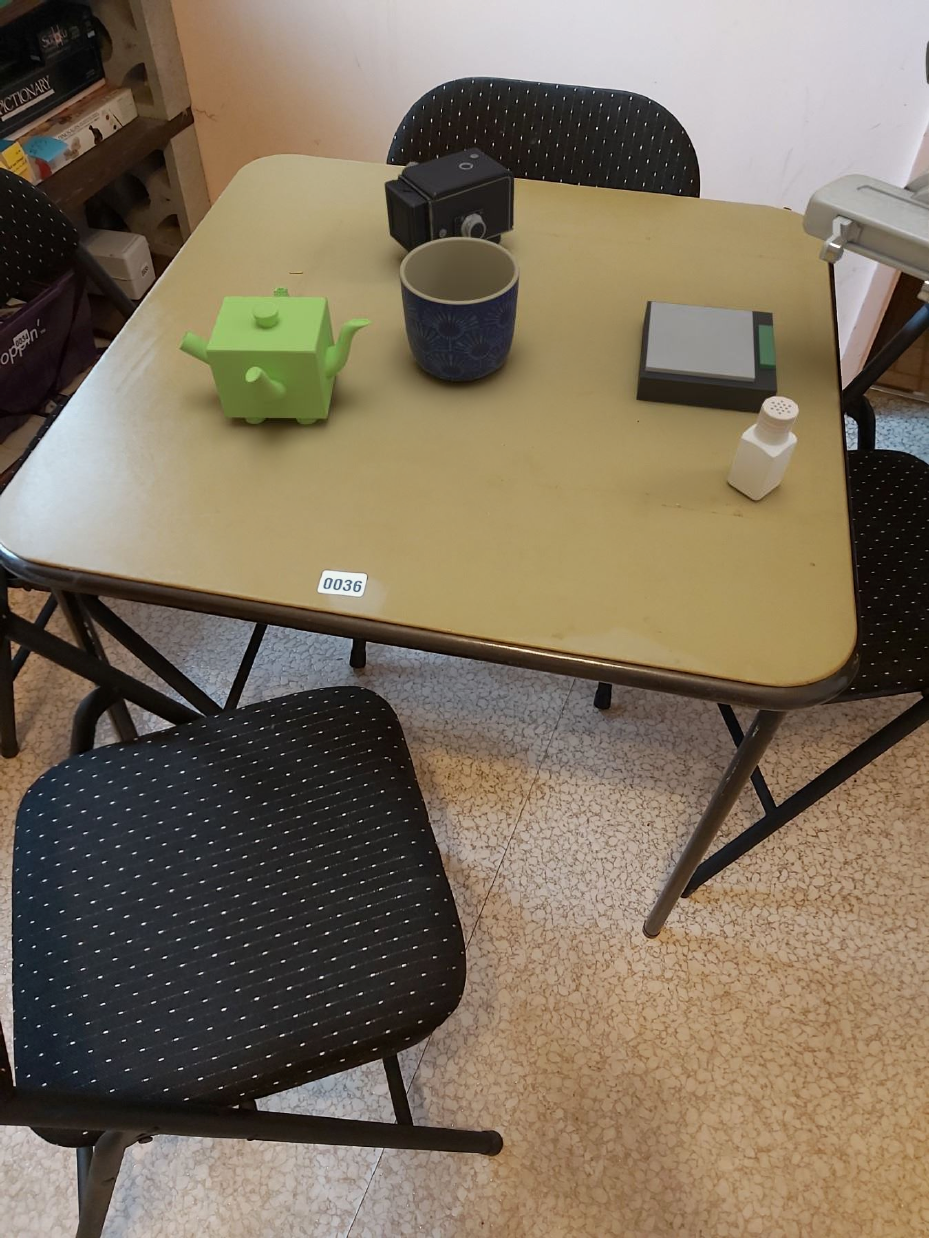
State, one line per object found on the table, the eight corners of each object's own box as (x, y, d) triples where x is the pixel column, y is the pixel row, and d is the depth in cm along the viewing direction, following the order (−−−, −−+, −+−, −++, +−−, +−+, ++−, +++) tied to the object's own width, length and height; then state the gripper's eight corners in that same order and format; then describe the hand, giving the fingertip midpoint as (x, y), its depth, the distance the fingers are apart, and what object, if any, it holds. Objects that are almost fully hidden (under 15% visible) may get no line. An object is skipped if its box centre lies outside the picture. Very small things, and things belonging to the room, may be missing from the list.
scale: (765, 335, 97) (774, 307, 94) (769, 414, 89) (779, 386, 86) (643, 323, 98) (648, 296, 95) (636, 399, 90) (641, 372, 87)
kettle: (381, 401, 90) (371, 309, 81) (277, 467, 85) (253, 376, 76) (295, 342, 97) (276, 250, 88) (192, 400, 91) (161, 308, 82)
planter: (461, 312, 100) (460, 223, 91) (538, 358, 95) (544, 268, 86) (383, 358, 95) (374, 268, 86) (459, 408, 90) (458, 318, 81)
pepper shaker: (723, 483, 83) (748, 406, 75) (748, 464, 84) (776, 387, 76) (756, 505, 81) (785, 428, 73) (781, 485, 82) (813, 408, 75)
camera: (472, 229, 113) (375, 252, 107) (480, 138, 105) (375, 158, 99) (518, 264, 108) (419, 290, 102) (530, 172, 99) (422, 194, 93)
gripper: (856, 144, 81) (782, 198, 76) (1072, 217, 73) (1008, 284, 67) (833, 207, 87) (763, 263, 81) (1033, 283, 78) (971, 351, 72)
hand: (876, 273), depth 74 cm, fingers open, 8 cm apart
